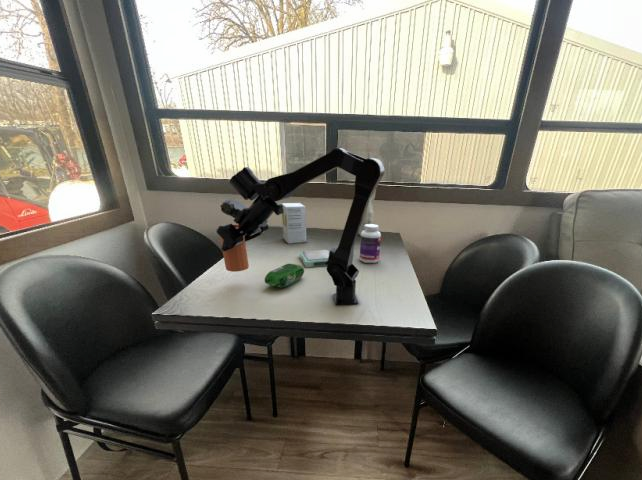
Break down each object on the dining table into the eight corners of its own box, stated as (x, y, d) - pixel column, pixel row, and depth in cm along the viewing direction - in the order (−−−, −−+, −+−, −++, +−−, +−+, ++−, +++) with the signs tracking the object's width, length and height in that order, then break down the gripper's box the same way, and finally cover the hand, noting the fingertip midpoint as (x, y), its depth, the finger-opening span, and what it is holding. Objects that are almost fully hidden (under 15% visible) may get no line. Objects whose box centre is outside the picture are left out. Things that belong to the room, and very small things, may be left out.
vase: (366, 232, 163) (369, 173, 149) (376, 235, 157) (381, 174, 143) (354, 234, 158) (356, 173, 144) (364, 238, 152) (368, 175, 138)
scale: (336, 265, 115) (336, 258, 114) (306, 267, 111) (306, 260, 110) (328, 255, 125) (328, 248, 124) (300, 257, 122) (299, 250, 120)
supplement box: (283, 238, 145) (280, 203, 138) (301, 237, 149) (300, 202, 141) (288, 243, 138) (285, 206, 130) (307, 242, 141) (306, 205, 134)
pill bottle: (379, 264, 118) (382, 228, 111) (359, 263, 117) (361, 227, 111) (378, 257, 125) (380, 223, 118) (359, 257, 125) (360, 222, 118)
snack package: (260, 289, 93) (259, 274, 91) (291, 273, 106) (290, 259, 103) (278, 294, 91) (277, 279, 88) (307, 277, 103) (307, 263, 101)
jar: (244, 272, 90) (237, 229, 84) (222, 271, 90) (214, 228, 84) (251, 264, 96) (246, 224, 90) (231, 263, 96) (224, 223, 90)
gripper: (255, 186, 90) (229, 220, 97) (216, 194, 74) (188, 233, 81) (281, 215, 92) (253, 246, 99) (248, 228, 76) (218, 264, 83)
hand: (230, 246), depth 91 cm, fingers closed on jar, 7 cm apart
